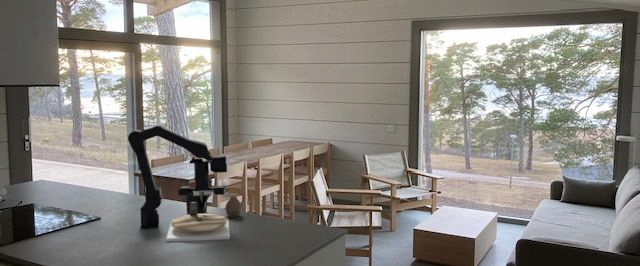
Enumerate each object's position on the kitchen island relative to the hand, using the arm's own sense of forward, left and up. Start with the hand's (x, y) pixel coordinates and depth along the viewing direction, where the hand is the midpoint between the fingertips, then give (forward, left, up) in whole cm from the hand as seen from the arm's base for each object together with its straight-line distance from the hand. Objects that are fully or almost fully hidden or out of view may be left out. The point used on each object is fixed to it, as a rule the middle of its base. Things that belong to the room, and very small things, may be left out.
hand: (203, 211), depth 214 cm
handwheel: (-1, -9, -4) cm, 10 cm away
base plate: (-1, -10, -6) cm, 11 cm away
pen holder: (-3, +20, -6) cm, 22 cm away
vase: (+13, +12, -6) cm, 19 cm away
